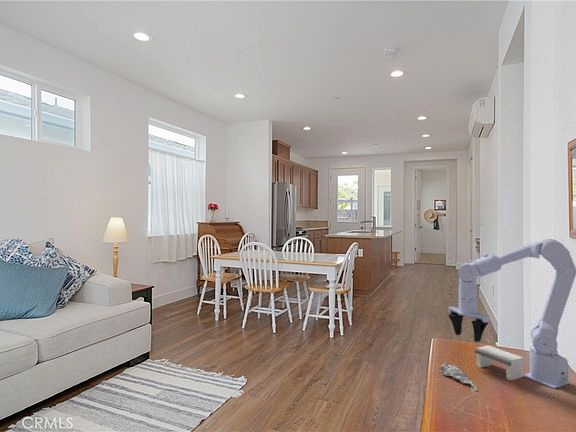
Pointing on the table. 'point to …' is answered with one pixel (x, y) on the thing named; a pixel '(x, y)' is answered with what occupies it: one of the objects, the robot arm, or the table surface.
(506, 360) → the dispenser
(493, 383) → the table surface
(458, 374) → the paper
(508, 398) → the table surface
